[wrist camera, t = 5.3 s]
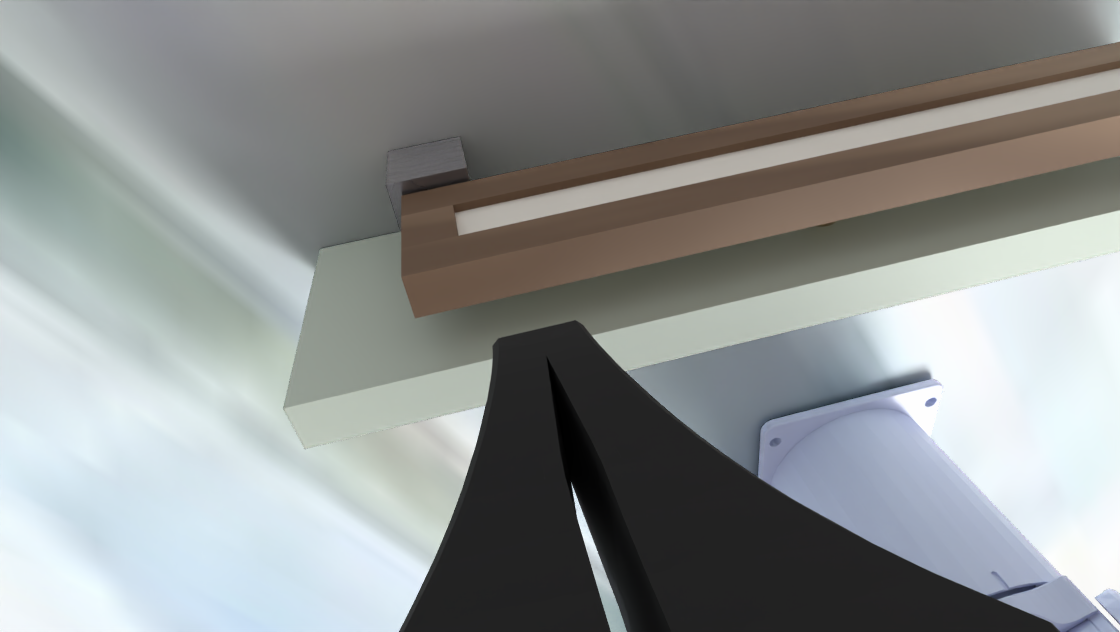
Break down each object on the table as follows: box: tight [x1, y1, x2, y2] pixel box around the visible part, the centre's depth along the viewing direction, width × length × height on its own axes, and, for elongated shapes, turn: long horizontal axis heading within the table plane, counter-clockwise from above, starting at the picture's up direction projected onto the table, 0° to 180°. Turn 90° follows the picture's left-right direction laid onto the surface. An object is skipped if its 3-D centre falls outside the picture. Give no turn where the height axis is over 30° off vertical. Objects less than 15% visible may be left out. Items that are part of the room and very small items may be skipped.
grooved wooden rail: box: [401, 42, 1120, 318], centre depth 15 cm, size 1×20×4 cm, turn 98°
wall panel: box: [283, 137, 1120, 449], centre depth 17 cm, size 4×26×7 cm, turn 98°
